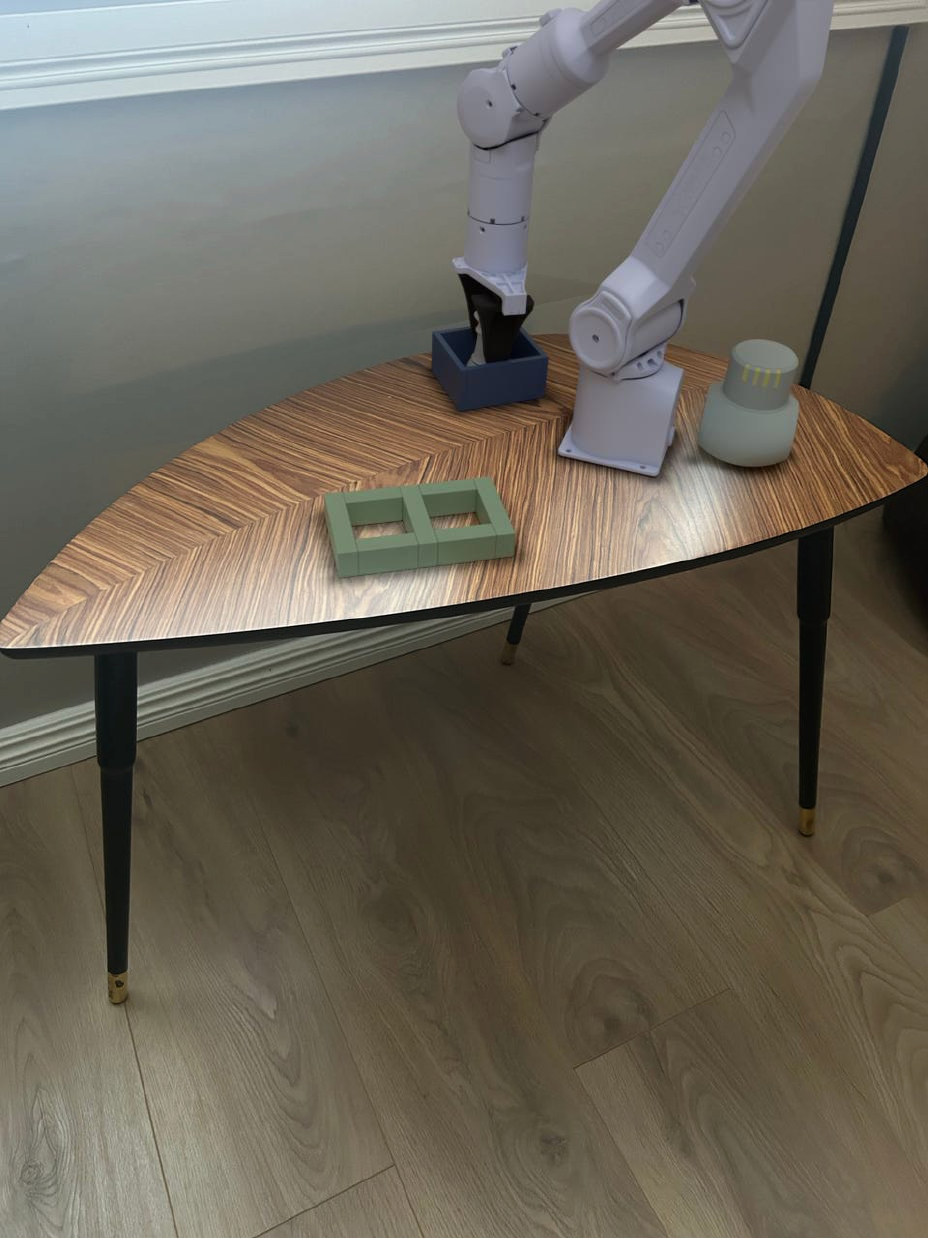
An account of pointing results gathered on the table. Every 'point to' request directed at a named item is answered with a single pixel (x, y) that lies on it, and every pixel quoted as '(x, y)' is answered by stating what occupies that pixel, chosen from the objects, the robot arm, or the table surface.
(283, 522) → the table surface
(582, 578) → the table surface
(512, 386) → the bin
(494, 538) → the frame
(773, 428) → the air freshener
